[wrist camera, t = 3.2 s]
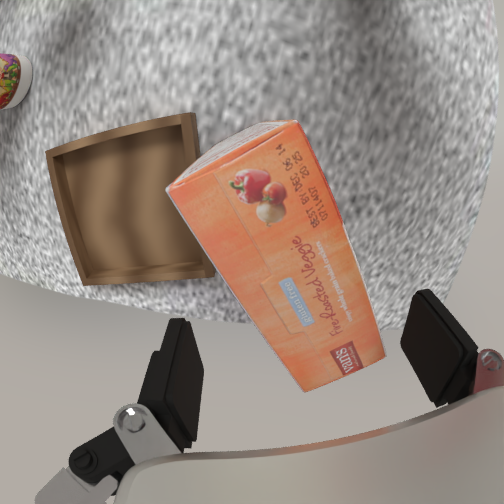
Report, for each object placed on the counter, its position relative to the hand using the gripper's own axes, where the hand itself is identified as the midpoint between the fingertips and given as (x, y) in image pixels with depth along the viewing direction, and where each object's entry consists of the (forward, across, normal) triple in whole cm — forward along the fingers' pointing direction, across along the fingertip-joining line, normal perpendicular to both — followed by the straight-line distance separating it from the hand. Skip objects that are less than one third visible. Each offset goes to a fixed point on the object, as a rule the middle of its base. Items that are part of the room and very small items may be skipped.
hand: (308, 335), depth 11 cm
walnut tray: (+23, +16, -1) cm, 27 cm away
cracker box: (+23, 0, -1) cm, 23 cm away
